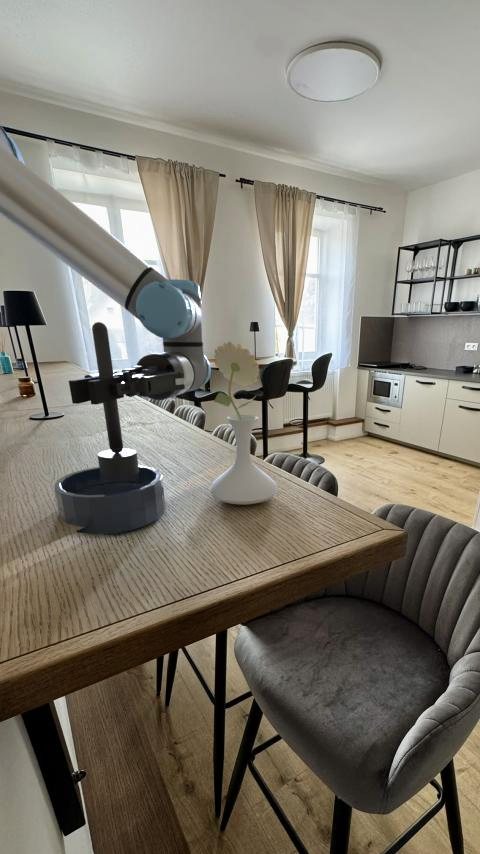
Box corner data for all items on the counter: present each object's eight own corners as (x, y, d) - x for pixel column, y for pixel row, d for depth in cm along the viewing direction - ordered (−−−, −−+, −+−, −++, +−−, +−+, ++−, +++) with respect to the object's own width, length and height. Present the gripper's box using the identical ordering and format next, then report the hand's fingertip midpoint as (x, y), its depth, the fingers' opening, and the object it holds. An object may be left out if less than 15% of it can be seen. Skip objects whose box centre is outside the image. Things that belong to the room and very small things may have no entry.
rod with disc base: (92, 475, 58) (66, 321, 51) (120, 465, 62) (100, 322, 55) (119, 481, 56) (96, 321, 49) (146, 470, 60) (129, 322, 53)
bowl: (39, 524, 59) (30, 485, 57) (117, 493, 72) (112, 460, 69) (113, 547, 54) (106, 504, 51) (184, 508, 66) (181, 472, 63)
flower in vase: (291, 500, 70) (294, 342, 60) (234, 517, 63) (229, 342, 54) (246, 480, 79) (244, 341, 70) (193, 493, 72) (182, 340, 63)
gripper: (206, 399, 72) (143, 426, 50) (127, 396, 74) (34, 421, 52) (204, 353, 69) (136, 361, 47) (121, 352, 71) (20, 358, 49)
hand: (83, 392), depth 50 cm, fingers closed on rod with disc base, 2 cm apart
